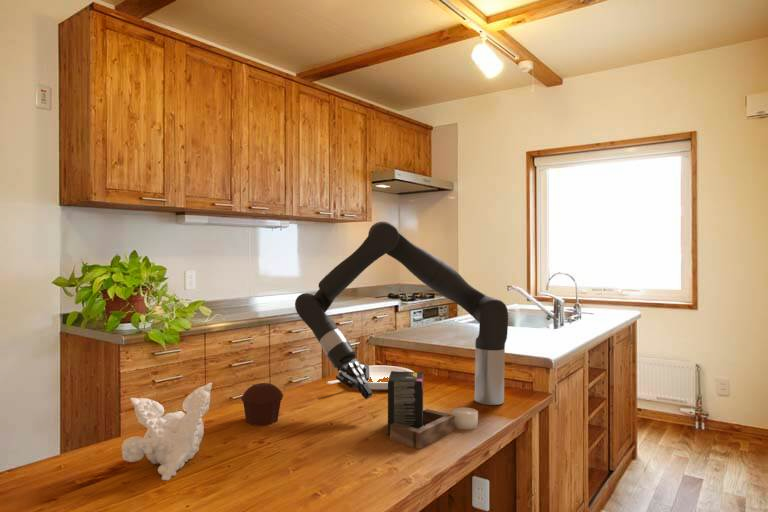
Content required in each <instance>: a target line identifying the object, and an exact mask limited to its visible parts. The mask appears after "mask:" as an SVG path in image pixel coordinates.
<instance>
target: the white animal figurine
mask: <svg viewBox="0 0 768 512" xmlns="http://www.w3.org/2000/svg"><path fill="white" fill-rule="evenodd" d="M212 386H213V382H208V383H207V384H205V385H202V386H200V387H197V388H196V389H193V391H192V392H191V393H189V395H187V396H186V397H185V399H184V400H183V403H182V409H183V411H184V412H183V411H182V410H177V411H175V412H167V413H166V414H165V408H164V406H163V405H162V403H159V402H158V401H156V400H153V399H150V398H146V397H145V398H144V397H140V398H138V397H137V398H136V397H131V398H129V400H130V402H131V404H132V405H133V408H134V413H135V416H136V418H137V422H138V423H139V424H140V425H142V426H144V427H145V428H146V432H145V434H144V436H143V437H142V436H138V435H136V436H130V437H129V438H126V439H125V440H123V441H122V444H121V455H122V460H124V461H126V462H128V463H134V462H139V461H140V460H141V459H143V458H144V457H145V456H146V458H147V460H148V461H149V462H150V463H151V464H153V465H157V464H159V465H160V466H158V468H157V472H158V474H160V475H161V480H162V481H170V480H171V479H172V477H174V476H176V475H177V471H178V470H180V469H182V468H183V467H184V465H185V464H186V463H187V462H189V460H192V459H193V458H194V457H195V455H196V454H197V453H198V452H199V451H200V445H201V443H202V441H203V439H202V438H203V437H204V434H205V432H204V429H205V428H204V427H205V426H204V423H203V419H202V418H203V416H204V415H205V414H207V412H208V411H209V410H210V402H211V391H212ZM185 412H186V413H185ZM162 416H163V417H162Z"/></svg>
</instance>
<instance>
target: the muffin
mask: <svg viewBox="0 0 768 512" xmlns="http://www.w3.org/2000/svg"><path fill="white" fill-rule="evenodd" d="M283 397H284V394H283V392H282V390H281V389H280V388H279V387H277V386H276V385H274V384H272V383H268V382H263V383H256V384H254V385H251V386H250V387H248V388H247V389H246V391H244V393H243V395H242V396H241V397H240V400H241V401H242V403H243V410H244V417H245V422H246V423H247V424H249V425H252V426H267V425H272V424H274V423H276V422H278V421H279V414H280V409H281V403H282V400H283Z"/></svg>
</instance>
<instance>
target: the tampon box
mask: <svg viewBox="0 0 768 512" xmlns="http://www.w3.org/2000/svg"><path fill="white" fill-rule="evenodd" d="M423 410H424V372H423V371H422V372H421V371H420V372H419V371H418V372H417V371H414V372H398V371H391V374H390V376H389V379H388V390H387V436H390V425H391V424H393V423H398V424H402V425H405V426H409V427H413V428H417V429H418V428H420V427H422V426H424V425H423Z"/></svg>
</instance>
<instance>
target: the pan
mask: <svg viewBox="0 0 768 512" xmlns="http://www.w3.org/2000/svg"><path fill="white" fill-rule="evenodd" d="M391 371H398V372H415V371H413V370H411V369H410V368H406V367H402V366H393V365H379V364H378V365H376V364H375V365H369V376H370V377H371V379H372V381H373V382H368V381H367V385H368V386H369V388H370V390H371V391H380V390H383V391H388V382H381V381H380V382H377V381H378V380H379V379H383V378H384V377H385V378H387V377H388V378H389V376H390V374H391ZM348 382H349V381H348ZM338 383H342V382H341V381H339V380H337V379H335V380H329V381H326V384H327V385H333V384H338Z"/></svg>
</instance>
